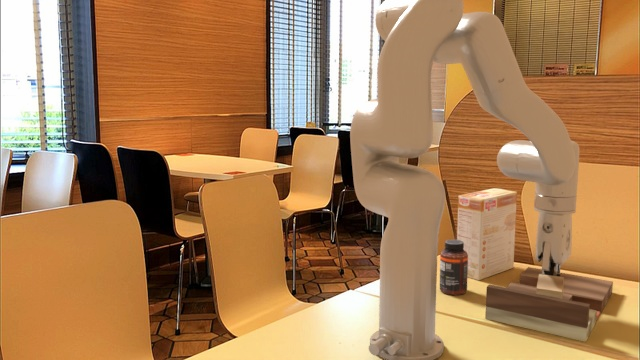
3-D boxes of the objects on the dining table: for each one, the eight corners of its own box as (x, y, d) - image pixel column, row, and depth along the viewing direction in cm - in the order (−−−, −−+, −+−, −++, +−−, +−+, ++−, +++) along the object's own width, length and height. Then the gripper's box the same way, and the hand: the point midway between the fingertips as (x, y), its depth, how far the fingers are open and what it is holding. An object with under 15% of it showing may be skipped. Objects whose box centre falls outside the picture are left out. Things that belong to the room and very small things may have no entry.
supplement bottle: (464, 287, 128) (466, 238, 126) (468, 296, 122) (471, 245, 120) (437, 286, 129) (439, 237, 127) (440, 295, 123) (442, 244, 121)
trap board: (585, 341, 100) (588, 306, 99) (485, 318, 110) (486, 286, 109) (612, 292, 124) (614, 263, 123) (527, 277, 135) (529, 250, 134)
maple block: (561, 310, 108) (562, 291, 106) (536, 306, 110) (536, 288, 108) (562, 295, 111) (563, 277, 109) (538, 292, 113) (539, 273, 111)
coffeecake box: (490, 261, 147) (493, 187, 144) (514, 268, 141) (518, 191, 138) (454, 273, 137) (457, 194, 134) (479, 281, 132) (482, 198, 129)
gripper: (567, 212, 103) (561, 308, 106) (583, 198, 115) (577, 285, 118) (524, 207, 107) (520, 300, 110) (544, 195, 119) (539, 279, 122)
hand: (549, 292), depth 114 cm, fingers closed
